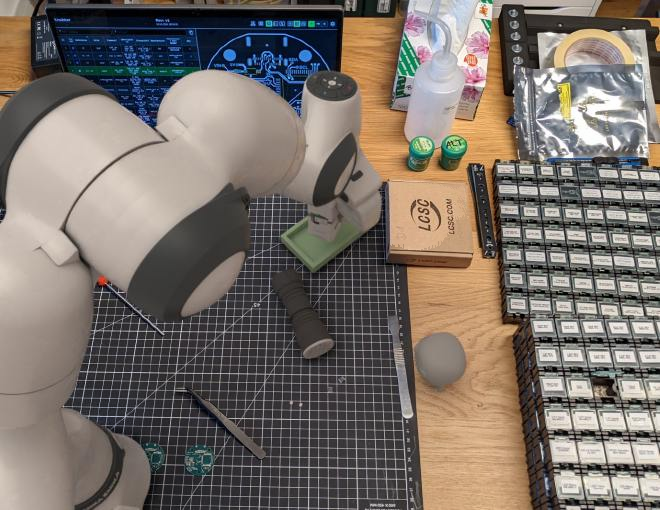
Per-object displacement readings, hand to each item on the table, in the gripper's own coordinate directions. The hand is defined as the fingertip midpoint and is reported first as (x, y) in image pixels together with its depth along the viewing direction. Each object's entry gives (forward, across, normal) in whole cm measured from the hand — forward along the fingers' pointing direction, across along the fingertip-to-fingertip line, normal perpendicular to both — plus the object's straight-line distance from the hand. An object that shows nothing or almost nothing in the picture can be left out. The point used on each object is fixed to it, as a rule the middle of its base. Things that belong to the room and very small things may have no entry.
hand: (329, 207), depth 108 cm
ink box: (+5, 0, 0) cm, 5 cm away
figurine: (+9, +32, -6) cm, 34 cm away
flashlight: (+9, +10, -15) cm, 20 cm away
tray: (+9, 0, 0) cm, 9 cm away
